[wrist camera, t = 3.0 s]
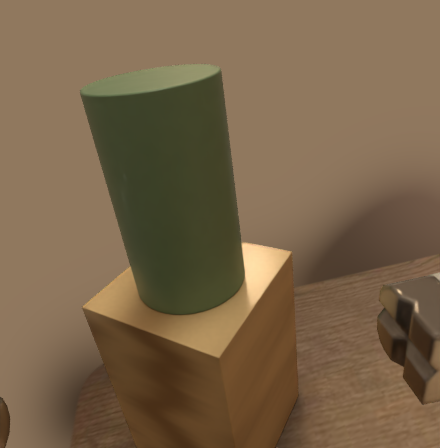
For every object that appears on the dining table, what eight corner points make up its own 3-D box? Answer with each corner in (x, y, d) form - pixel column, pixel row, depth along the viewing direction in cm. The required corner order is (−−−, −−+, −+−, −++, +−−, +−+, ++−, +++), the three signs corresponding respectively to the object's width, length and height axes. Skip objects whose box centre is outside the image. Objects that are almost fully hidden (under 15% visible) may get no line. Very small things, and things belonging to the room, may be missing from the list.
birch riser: (136, 448, 26) (81, 306, 20) (202, 358, 31) (174, 228, 26) (246, 511, 22) (218, 358, 16) (298, 395, 28) (292, 251, 22)
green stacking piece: (115, 297, 20) (48, 95, 15) (178, 240, 24) (142, 66, 19) (208, 329, 17) (164, 94, 12) (263, 259, 21) (245, 61, 16)
